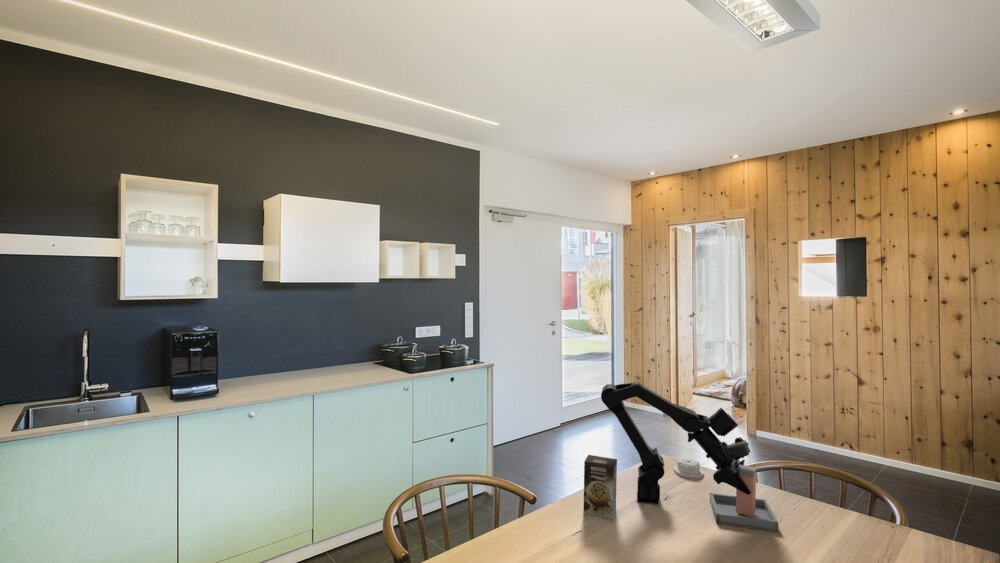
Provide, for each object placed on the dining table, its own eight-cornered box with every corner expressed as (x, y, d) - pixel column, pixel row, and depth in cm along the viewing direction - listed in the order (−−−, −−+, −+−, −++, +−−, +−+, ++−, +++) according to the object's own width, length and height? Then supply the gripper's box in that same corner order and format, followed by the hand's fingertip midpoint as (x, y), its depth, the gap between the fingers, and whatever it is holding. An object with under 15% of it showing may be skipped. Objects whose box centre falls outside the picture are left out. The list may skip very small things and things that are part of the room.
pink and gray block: (735, 512, 143) (736, 469, 143) (738, 506, 147) (739, 464, 146) (752, 517, 140) (753, 473, 140) (755, 511, 144) (756, 468, 144)
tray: (716, 523, 140) (716, 513, 140) (709, 501, 153) (709, 492, 153) (778, 532, 135) (778, 522, 135) (765, 508, 149) (765, 499, 149)
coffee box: (582, 514, 145) (583, 461, 145) (587, 504, 151) (587, 453, 151) (613, 520, 141) (614, 465, 141) (616, 510, 147) (617, 458, 147)
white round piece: (707, 480, 170) (698, 468, 180) (707, 467, 170) (698, 456, 180) (678, 478, 171) (670, 467, 181) (678, 466, 171) (671, 455, 181)
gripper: (726, 439, 138) (769, 488, 132) (738, 423, 153) (777, 466, 147) (696, 460, 143) (736, 508, 136) (711, 442, 158) (748, 485, 151)
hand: (751, 490), depth 143 cm, fingers open, 5 cm apart
